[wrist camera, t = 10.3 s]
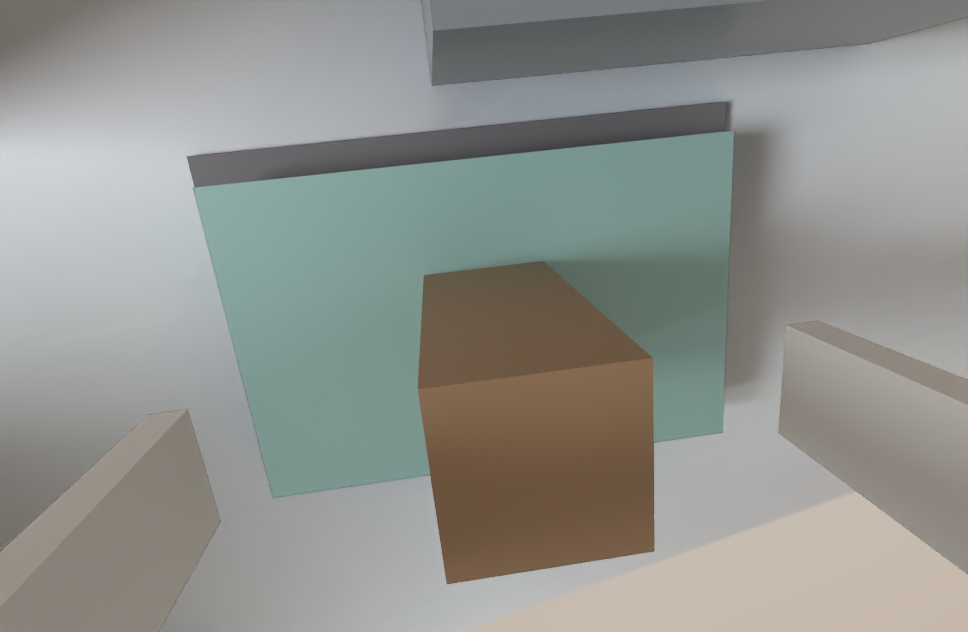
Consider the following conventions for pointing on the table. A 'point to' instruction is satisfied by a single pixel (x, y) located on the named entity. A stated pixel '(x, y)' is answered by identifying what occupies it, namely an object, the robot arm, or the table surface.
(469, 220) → the lid
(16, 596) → the robot arm
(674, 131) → the mat
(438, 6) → the grey open storage bin
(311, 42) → the table surface
